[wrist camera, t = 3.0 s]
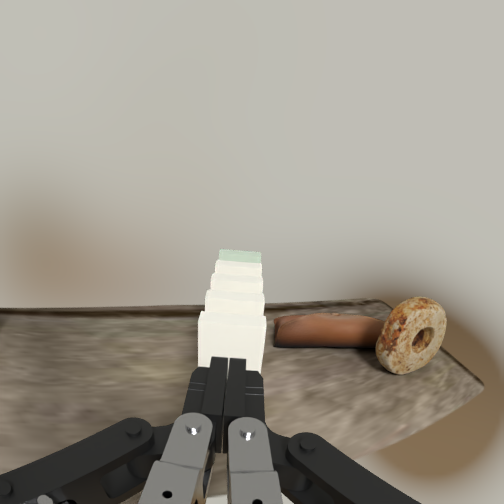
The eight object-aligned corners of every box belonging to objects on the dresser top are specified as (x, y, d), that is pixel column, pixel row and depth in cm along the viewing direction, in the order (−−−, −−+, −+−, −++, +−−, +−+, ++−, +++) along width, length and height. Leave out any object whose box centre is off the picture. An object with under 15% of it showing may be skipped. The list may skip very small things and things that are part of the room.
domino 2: (252, 358, 38) (262, 268, 35) (212, 355, 38) (215, 264, 35) (252, 351, 40) (261, 263, 36) (213, 348, 40) (216, 259, 36)
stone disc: (378, 384, 34) (403, 312, 31) (364, 367, 38) (385, 297, 34) (436, 368, 37) (461, 303, 34) (421, 354, 40) (442, 292, 37)
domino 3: (252, 379, 35) (263, 283, 31) (208, 375, 34) (210, 279, 31) (252, 370, 36) (262, 277, 32) (209, 367, 36) (212, 273, 32)
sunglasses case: (379, 322, 49) (395, 299, 44) (385, 361, 44) (404, 342, 39) (270, 317, 49) (276, 293, 44) (269, 360, 44) (276, 340, 39)
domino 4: (252, 403, 31) (264, 302, 27) (204, 399, 31) (205, 297, 27) (252, 393, 32) (264, 294, 29) (205, 389, 32) (207, 289, 28)
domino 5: (252, 431, 27) (266, 326, 23) (199, 426, 27) (198, 321, 23) (252, 419, 28) (265, 316, 25) (201, 415, 28) (201, 311, 25)
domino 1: (252, 341, 42) (261, 256, 39) (215, 338, 42) (219, 253, 38) (252, 335, 44) (260, 252, 40) (216, 332, 44) (220, 249, 40)
